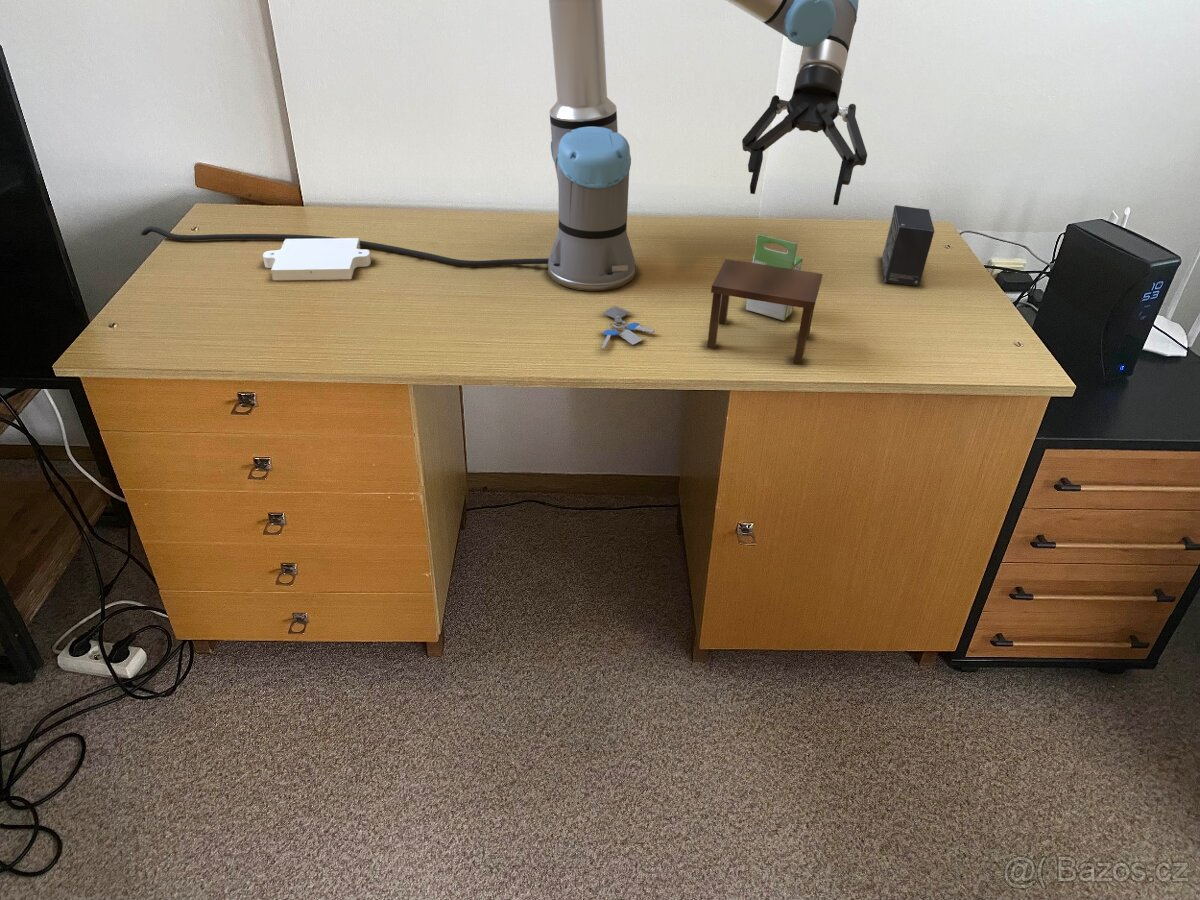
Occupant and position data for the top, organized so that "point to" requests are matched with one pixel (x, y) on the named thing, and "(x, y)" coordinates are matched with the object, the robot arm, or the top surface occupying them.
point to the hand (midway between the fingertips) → (793, 196)
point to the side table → (764, 294)
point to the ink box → (777, 260)
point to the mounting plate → (316, 259)
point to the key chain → (626, 334)
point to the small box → (907, 245)
